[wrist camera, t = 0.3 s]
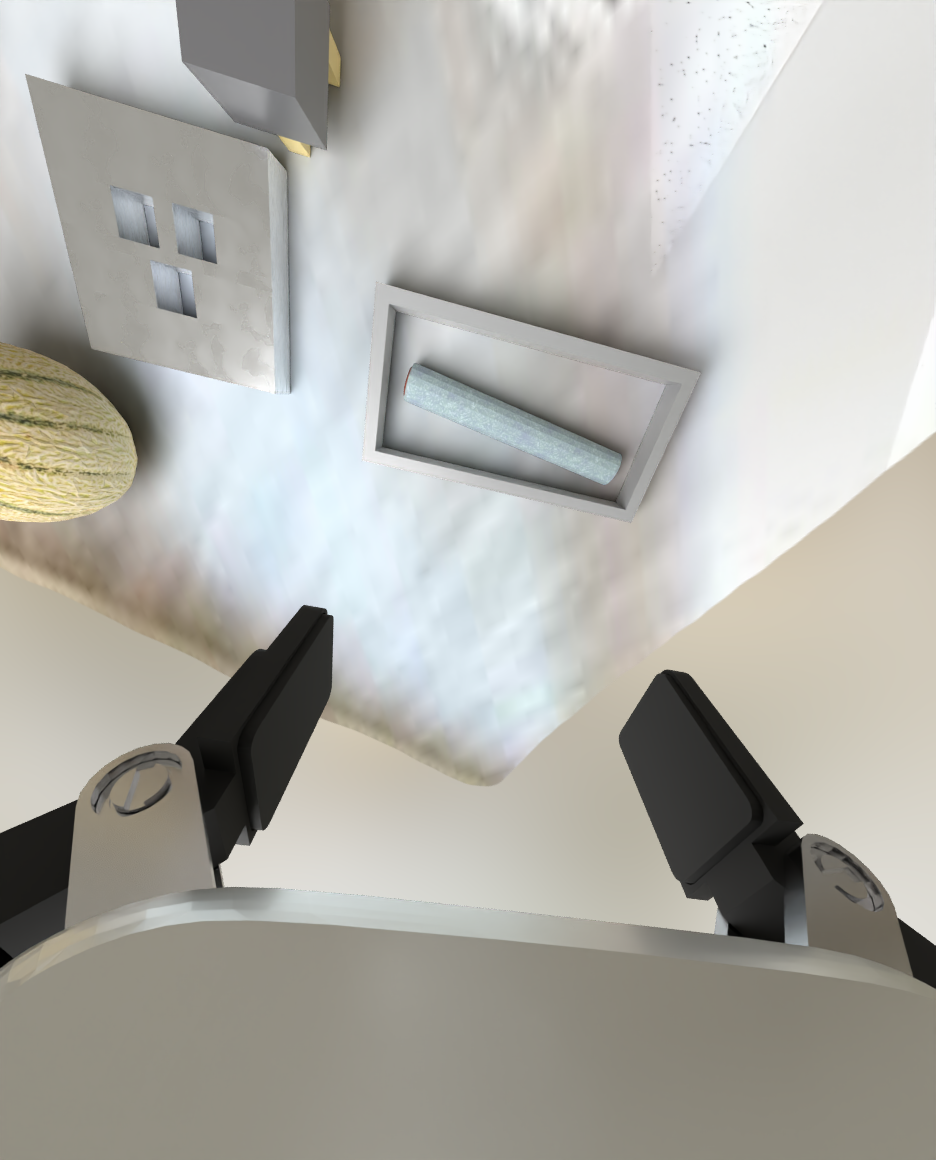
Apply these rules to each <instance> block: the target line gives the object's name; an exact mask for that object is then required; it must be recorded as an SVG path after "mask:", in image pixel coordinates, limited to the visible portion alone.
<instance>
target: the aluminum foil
mask: <svg viewBox="0 0 936 1160" xmlns="http://www.w3.org/2000/svg"><path fill="white" fill-rule="evenodd" d="M404 400H405V401H407V402H409V403H411V404H414V405H416V406H418V407H421V408H423V409H425V410H428V411H430V412H433V413H435V414H437V415H440V416H442V417H444V418H447V419H449V420H451V421H454V422H456V423H458V424H461V425H463V426H466V427H468V428H470V429H473V430H475V431H477V432H480V433H482V434H484V435H487V436H489V437H491V438H494V439H496V440H499V441H501V442H503V443H506V444H508V445H510V446H513V447H515V448H517V449H520V450H522V451H524V452H527V453H529V454H532V455H534V456H536V457H539V458H541V459H543V460H546V461H548V462H550V463H553V464H555V465H557V466H560V467H562V468H565V469H567V470H569V471H572V472H574V473H576V474H579V475H581V476H583V477H586V478H588V479H590V480H593V481H595V482H598V483H600V484H602V485H606V484H608V483H609V482H610V481H611V480H612V479H613V478H614V477H615V475H616V474H617V472H618V470H619V468H620V465H621V461H622V456H621V454H619V453H617V452H615V451H612V450H610V449H608V448H606V447H603V446H601V445H599V444H597V443H594V442H592V441H590V440H588V439H585V438H583V437H581V436H579V435H576V434H574V433H572V432H570V431H567V430H565V429H563V428H561V427H558V426H556V425H554V424H552V423H549V422H547V421H545V420H543V419H540V418H538V417H536V416H534V415H531V414H529V413H527V412H525V411H522V410H520V409H518V408H516V407H513V406H511V405H509V404H507V403H504V402H502V401H500V400H498V399H495V398H493V397H491V396H489V395H486V394H484V393H482V392H480V391H477V390H475V389H473V388H471V387H468V386H466V385H464V384H462V383H459V382H457V381H455V380H453V379H450V378H448V377H446V376H444V375H441V374H439V373H437V372H435V371H432V370H430V369H428V368H426V367H423V366H421V365H419V364H417V363H414V365H413V366H412V367H411V368H410V370H409V373H408V375H407V379H406V383H405V387H404Z"/></svg>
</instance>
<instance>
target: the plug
mask: <svg viewBox="0 0 936 1160" xmlns="http://www.w3.org/2000/svg"><path fill="white" fill-rule="evenodd" d="M176 8H177V17H178V27H179V37H180V46H181V56H182V62H183V63H184V64H185V65H186V66H187V68H188V69H189V70H190V71H191V72H192V73H193V74H194V76H195V77H196V78H197V79H198V80H199V81H200V83H201V84H202V85H203V86H204V87H205V88H206V89H207V91H208V92H209V93H210V94H211V95H212V96H213V97H214V99H215V100H216V101H217V102H218V103H219V104H220V105H221V107H222V108H223V109H224V110H225V111H226V112H227V114H228V115H229V116H230V117H231V118H232V119H233V120H234V122H237V123H240V124H243V125H246V126H250V127H253V128H256V129H259V130H263V131H266V132H269V133H272V134H275V135H278V136H279V138H280V139H281V140H282V142H283V143H284V144H285V146H286V147H287V148H288V150H289V151H291V152H294V153H297V154H301V155H304V156H307V157H310V145H311V146H314V147H317V148H321V149H324V150H327V117H328V84H331V85H334V86H337V87H340V67H341V57H340V54H339V52H338V49H337V47H336V44H335V42H334V39H333V37H332V34H331V32H330V5H329V2H328V0H176Z"/></svg>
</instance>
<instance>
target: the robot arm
mask: <svg viewBox="0 0 936 1160" xmlns="http://www.w3.org/2000/svg"><path fill="white" fill-rule="evenodd" d="M332 657H333V616H332V615H327V610H326V609H324V608H318V607H313V606H307V605H304V606H302V607H301V608H300V609H299V611H298V612H297V613H296V614H295V616H294V617H293V618H292V619H291V620H290V622H289V623H288V624H287V625H286V627H285V628H284V629H283V630H282V632H281V633H280V634H279V635H278V637H277V638H276V639H275V640H274V642H273V643H272V644H271V645H270V646H269V648H268V649H267V650H264V649H258V650H256V651H255V652H254V653H253V654H251V656H250V657H249V658H248V659H247V660H246V661H245V663H244V664H243V665H242V666H241V667H240V668H239V670H238V671H237V672H236V673H235V674H234V675H233V677H232V678H231V679H230V680H229V681H228V683H227V684H226V685H225V686H224V687H223V688H222V690H221V691H220V692H219V693H218V694H217V695H216V697H215V698H214V699H213V700H212V701H211V702H210V704H209V705H208V706H207V707H206V708H205V710H204V711H203V712H202V713H201V714H200V715H199V717H198V718H197V719H196V720H195V721H194V722H193V724H192V725H191V726H190V727H189V728H188V730H187V731H186V732H185V733H184V734H183V735H182V736H181V738H180V739H179V740H178V741H177V742H176V744H171V743H161V744H152V745H148V746H144V747H140V748H137V749H135V750H132V751H130V752H128V753H126V754H123V755H121V756H119V757H118V758H116V759H115V760H113V761H111V762H110V763H108V764H107V765H105V766H104V767H103V768H102V769H101V770H99V772H97V773H96V774H95V775H94V776H93V777H92V778H91V779H90V780H89V781H88V783H87V784H86V786H85V787H84V788H83V790H82V791H81V792H80V795H79V799H78V800H76V801H74V802H71V803H69V804H66V805H64V806H62V807H60V808H57V809H55V810H53V811H50V812H48V813H46V814H43V815H41V816H39V817H36V818H34V819H32V820H30V821H27V822H25V823H23V824H21V825H18V826H16V827H13V828H11V829H9V830H6V831H4V832H2V833H0V1160H936V946H935V945H934V944H933V943H931V942H930V941H929V940H927V939H926V938H925V937H923V936H922V935H921V934H919V933H918V932H916V931H915V930H914V929H912V928H911V927H910V926H908V925H907V924H906V923H904V922H903V921H902V920H900V919H899V918H897V915H896V911H895V907H894V905H893V903H892V901H891V899H890V896H889V894H888V893H887V891H886V890H885V888H884V887H883V885H882V884H881V882H880V881H879V880H878V879H877V878H876V877H875V876H874V874H873V873H872V872H871V871H870V870H869V869H868V868H867V867H866V866H865V865H864V864H863V863H862V862H861V861H860V860H859V859H858V858H856V857H855V856H854V855H853V854H851V853H850V852H849V851H847V850H846V849H845V848H843V847H842V846H841V845H839V844H837V843H835V842H834V841H832V840H830V839H828V838H826V837H823V836H820V835H817V834H807V835H806V836H804V837H802V838H801V839H800V838H799V836H798V835H797V834H796V832H795V830H796V829H797V828H799V827H800V826H801V825H802V824H803V822H802V821H801V820H800V818H799V817H798V816H797V815H796V813H795V812H794V811H793V809H792V808H791V807H790V805H789V804H788V803H787V801H786V800H785V799H784V797H783V796H782V795H781V793H780V792H779V791H778V789H777V788H776V787H775V786H774V784H773V783H772V782H771V780H770V779H769V778H768V777H767V775H766V774H765V772H764V771H763V770H762V769H761V767H760V766H759V765H758V763H757V762H756V761H755V759H754V758H753V757H752V755H751V754H750V753H749V752H748V750H747V749H746V748H745V746H744V745H743V744H742V742H741V741H740V740H739V739H738V737H737V736H736V735H735V733H734V732H733V731H732V729H731V728H730V727H729V725H728V724H727V723H726V721H725V720H724V719H723V718H722V716H721V715H720V714H719V712H718V711H717V710H716V708H715V707H714V706H713V704H712V703H711V702H710V700H709V699H708V698H707V697H706V695H705V694H704V693H703V691H702V690H701V689H700V687H699V686H698V685H697V683H696V682H695V681H694V679H693V678H692V677H691V676H690V675H689V674H687V673H684V672H678V671H673V670H664V671H663V672H661V674H657V675H656V676H655V678H654V679H653V681H652V683H651V684H650V686H649V688H648V689H647V691H646V692H645V694H644V695H643V697H642V699H641V700H640V702H639V703H638V705H637V707H636V708H635V710H634V711H633V713H632V714H631V716H630V718H629V719H628V721H627V722H626V724H625V726H624V727H623V729H622V730H621V732H620V735H619V744H620V747H621V749H622V752H623V754H624V757H625V759H626V761H627V764H628V766H629V769H630V771H631V774H632V776H633V779H634V781H635V783H636V786H637V788H638V791H639V793H640V796H641V798H642V800H643V803H644V805H645V808H646V810H647V813H648V815H649V817H650V820H651V822H652V825H653V827H654V830H655V832H656V834H657V837H658V839H659V842H660V844H661V846H662V849H663V851H664V854H665V856H666V859H667V861H668V863H669V866H670V868H671V871H672V872H673V875H674V876H675V878H676V879H677V880H679V881H680V883H681V885H682V887H683V889H684V892H685V895H686V897H687V898H691V899H699V900H709V899H711V898H712V897H714V899H715V901H716V903H717V905H718V910H717V918H716V925H715V933H714V934H709V933H700V932H691V931H683V930H674V929H666V928H657V927H649V926H639V925H631V924H622V923H614V922H605V921H596V920H587V919H577V918H569V917H560V916H551V915H542V914H532V913H524V912H515V911H506V910H496V909H487V908H478V907H468V906H458V905H448V904H440V903H430V902H421V901H411V900H402V899H392V898H383V897H374V896H364V895H351V894H340V893H327V892H316V891H304V890H293V889H281V888H245V887H225V888H224V883H223V877H222V871H221V866H220V864H221V863H222V862H224V861H225V860H227V859H228V857H229V855H230V853H231V851H232V849H233V847H234V845H235V844H239V845H249V846H250V844H251V842H252V840H253V838H254V836H255V834H256V832H257V830H265V829H266V828H267V826H268V825H269V823H270V821H271V819H272V817H273V815H274V813H275V810H276V808H277V806H278V804H279V802H280V800H281V798H282V796H283V794H284V791H285V790H286V787H287V785H288V783H289V781H290V779H291V777H292V775H293V773H294V771H295V769H296V766H297V764H298V762H299V760H300V758H301V756H302V754H303V752H304V750H305V747H306V745H307V743H308V741H309V739H310V737H311V735H312V733H313V731H314V729H315V727H316V724H317V722H318V720H319V718H320V716H321V714H322V712H323V710H324V708H325V706H326V703H327V701H328V699H329V696H330V693H331V688H332Z"/></svg>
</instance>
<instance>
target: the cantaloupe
mask: <svg viewBox="0 0 936 1160" xmlns="http://www.w3.org/2000/svg"><path fill="white" fill-rule="evenodd" d="M136 467H137V454H136V449H135V446H134V442H133V438H132V434H131V431H130V429H129V427H128V425H127V423H126V421H125V420H124V419H123V418H122V417H121V415H120V414H119V413H118V411H117V410H116V408H115V407H114V406H113V404H112V403H111V402H110V401H109V400H108V399H107V398H106V397H105V396H104V395H103V394H102V393H101V392H100V391H99V390H98V389H97V388H96V387H95V386H93V385H92V384H91V383H90V382H89V381H87V380H86V379H85V378H83V377H82V376H81V375H79V374H78V373H76V372H75V371H73V370H71V369H70V368H68V367H67V366H65V365H63V364H61V363H59V362H57V361H55V360H53V359H51V358H48V357H46V356H44V355H41V354H38V353H36V352H33V351H31V350H28V349H23V348H19V347H16V346H13V345H11V344H6V343H1V342H0V519H2V520H7V521H21V522H56V521H62V520H69V519H73V518H77V517H81V516H87V515H90V514H92V513H94V512H97V511H98V510H100V509H102V508H104V507H106V506H107V505H109V504H111V503H113V502H115V501H117V500H118V499H119V498H120V497H122V496H123V495H124V494H125V493H126V492H127V491H128V489H129V488H130V487H131V485H132V482H133V479H134V476H135V470H136Z"/></svg>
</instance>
